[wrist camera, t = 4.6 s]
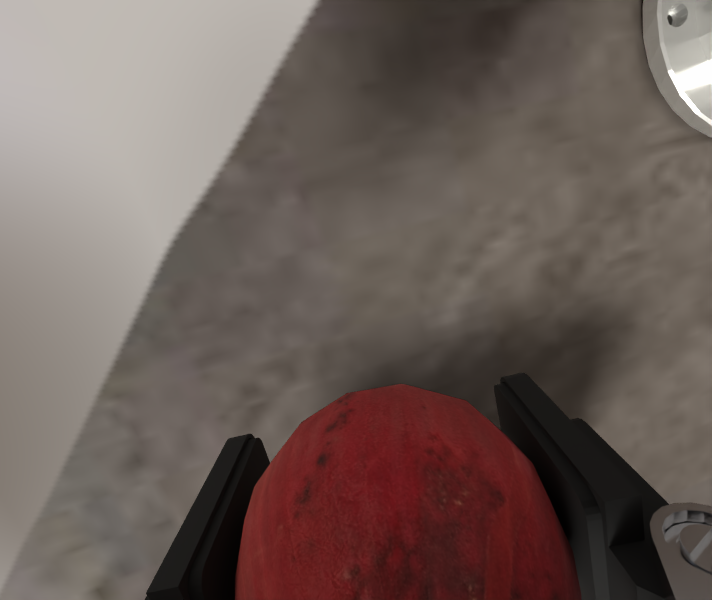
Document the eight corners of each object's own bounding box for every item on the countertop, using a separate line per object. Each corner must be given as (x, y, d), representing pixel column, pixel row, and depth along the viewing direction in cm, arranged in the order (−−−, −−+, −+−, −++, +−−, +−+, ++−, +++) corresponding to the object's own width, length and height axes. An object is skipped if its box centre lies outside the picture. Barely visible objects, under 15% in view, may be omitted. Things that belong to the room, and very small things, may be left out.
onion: (306, 309, 10) (117, 744, 2) (517, 361, 10) (1039, 893, 2) (263, 491, 11) (61, 1142, 3) (449, 530, 12) (634, 1196, 4)
